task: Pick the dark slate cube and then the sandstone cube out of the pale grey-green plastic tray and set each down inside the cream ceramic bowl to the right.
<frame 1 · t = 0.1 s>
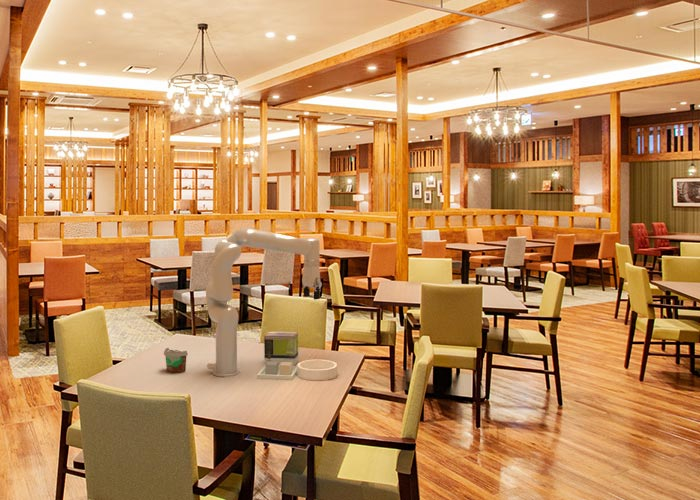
hand: (311, 297, 302), 31 cm above the table, tool pointing down, fingers open, 9 cm apart
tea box: (281, 363, 299), on the table
bowl: (317, 375, 279), on the table
food container: (172, 372, 281), on the table
tray: (278, 374, 278), on the table
slate cube: (272, 373, 279), resting on tray
sandstone cube: (286, 374, 278), resting on tray
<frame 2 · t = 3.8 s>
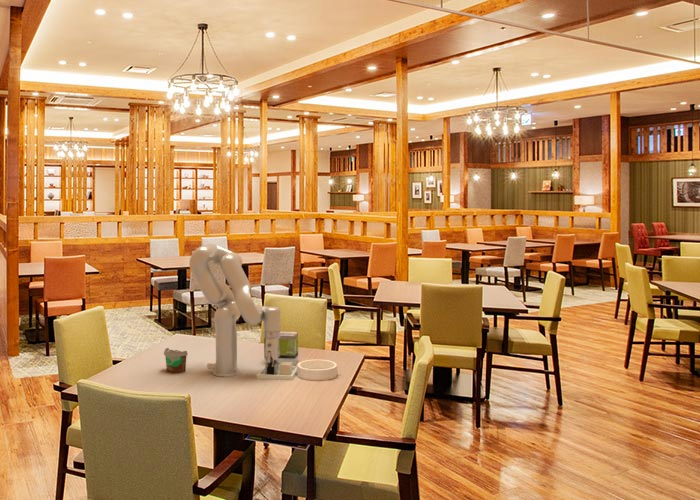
hand: (272, 372, 279), 1 cm above the table, tool pointing down, fingers closed on slate cube, 5 cm apart
slate cube: (272, 373, 279), resting on tray, touching gripper
everything else where it was.
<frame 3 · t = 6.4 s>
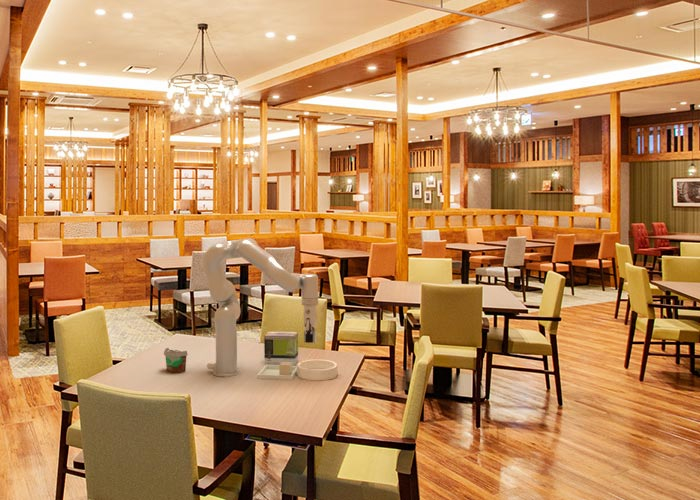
hand: (310, 340, 278), 16 cm above the table, tool pointing down, fingers closed on slate cube, 5 cm apart
slate cube: (310, 341, 278), point 16 cm above the table, touching gripper
everything else where it was.
when the fingers open (3 cm above the table, at t = 9.2 s): slate cube drops 2 cm, resting on bowl.
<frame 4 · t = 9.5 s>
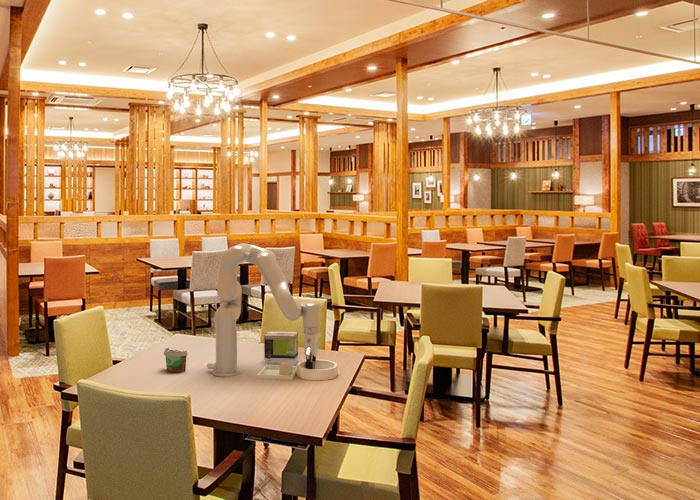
hand: (310, 367, 279), 4 cm above the table, tool pointing down, fingers open, 8 cm apart
slate cube: (310, 373, 279), point 1 cm above the table, touching bowl
everything else where it was.
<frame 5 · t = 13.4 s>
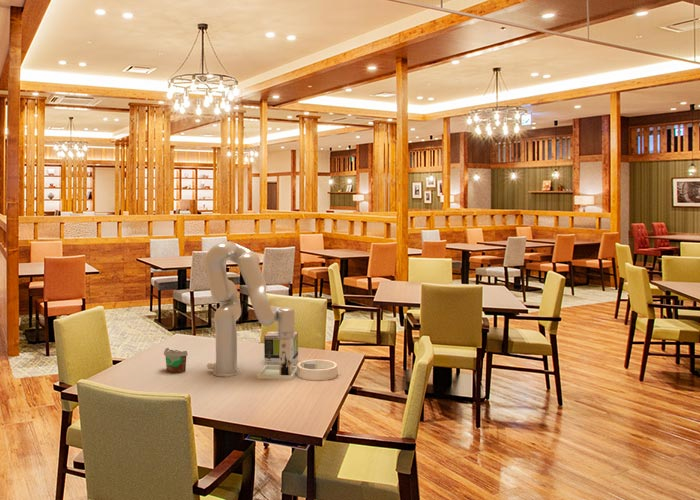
hand: (286, 373, 278), 1 cm above the table, tool pointing down, fingers closed on sandstone cube, 5 cm apart
sandstone cube: (286, 374, 278), resting on tray, touching gripper
everything else where it was.
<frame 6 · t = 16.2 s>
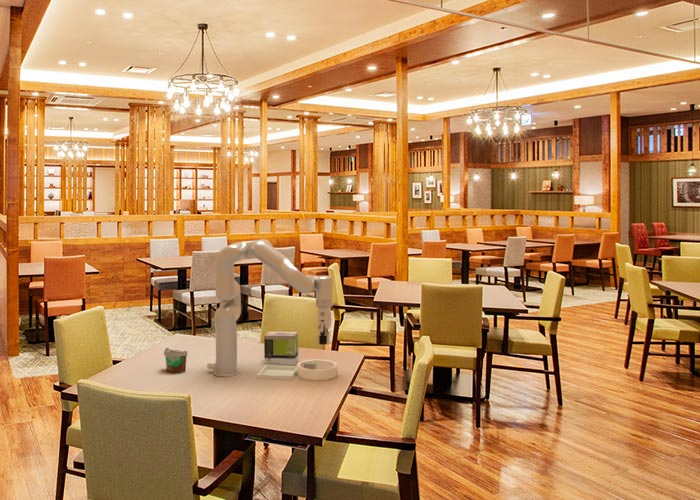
hand: (323, 342, 277), 15 cm above the table, tool pointing down, fingers closed on sandstone cube, 5 cm apart
sandstone cube: (323, 343, 277), point 15 cm above the table, touching gripper
everything else where it was.
when the fingers open (3 cm above the table, at t = 18.8 s): sandstone cube drops 2 cm, resting on bowl.
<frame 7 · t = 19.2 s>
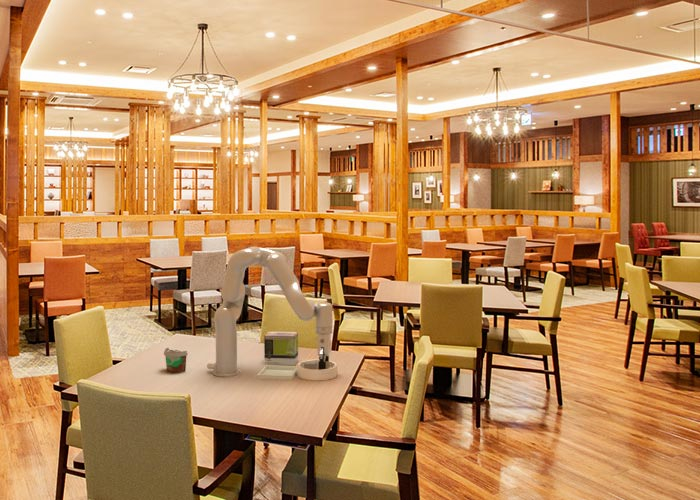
hand: (323, 367, 278), 4 cm above the table, tool pointing down, fingers open, 9 cm apart
sandstone cube: (323, 373, 278), point 1 cm above the table, touching bowl
everything else where it was.
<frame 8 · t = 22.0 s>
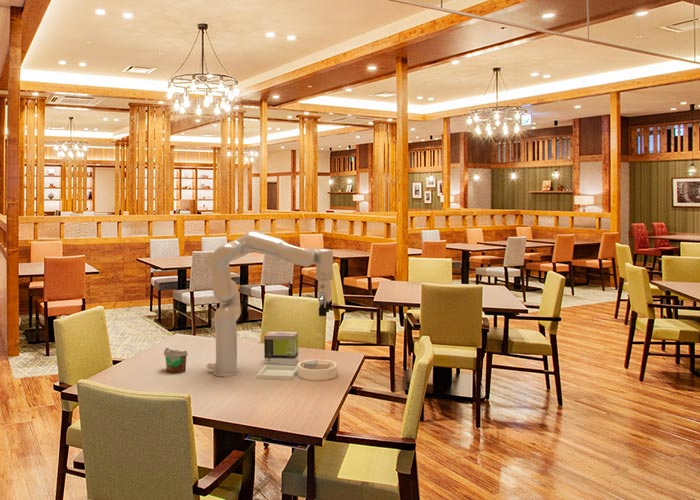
hand: (324, 314, 276), 28 cm above the table, tool pointing down, fingers open, 9 cm apart
nothing on the table moved.
at the end: slate cube 3.1 cm from the bowl (horizontally); sandstone cube 2.9 cm from the bowl (horizontally); sandstone cube point 0.8 cm above the table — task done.
